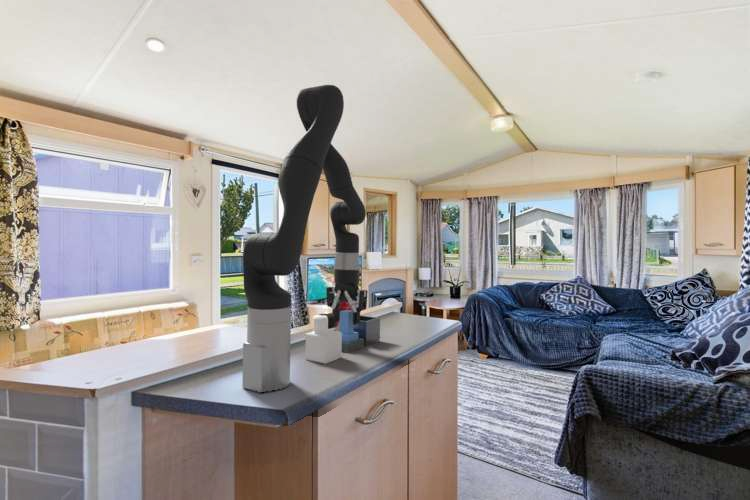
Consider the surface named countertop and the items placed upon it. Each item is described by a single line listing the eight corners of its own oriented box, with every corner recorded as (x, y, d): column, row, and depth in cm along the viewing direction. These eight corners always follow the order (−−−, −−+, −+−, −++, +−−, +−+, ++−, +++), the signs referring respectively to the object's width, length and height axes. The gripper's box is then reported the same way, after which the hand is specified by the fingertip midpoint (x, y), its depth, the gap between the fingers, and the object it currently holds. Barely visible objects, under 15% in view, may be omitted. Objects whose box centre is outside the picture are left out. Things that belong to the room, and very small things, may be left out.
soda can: (329, 329, 141) (329, 296, 141) (347, 328, 144) (347, 296, 144) (335, 333, 135) (336, 299, 134) (354, 332, 138) (355, 298, 137)
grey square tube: (365, 346, 119) (366, 321, 118) (345, 342, 123) (345, 318, 123) (379, 341, 125) (380, 318, 125) (359, 337, 130) (359, 315, 129)
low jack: (348, 352, 111) (348, 344, 111) (326, 348, 115) (326, 340, 115) (364, 346, 118) (364, 338, 118) (343, 342, 122) (343, 335, 122)
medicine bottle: (321, 353, 110) (322, 311, 110) (341, 357, 106) (342, 314, 106) (304, 359, 104) (305, 315, 104) (325, 364, 100) (326, 318, 100)
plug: (347, 347, 113) (348, 313, 113) (334, 344, 116) (334, 311, 116) (358, 343, 117) (358, 311, 117) (344, 341, 120) (345, 309, 120)
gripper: (320, 267, 117) (319, 321, 117) (359, 269, 109) (358, 328, 109) (335, 266, 123) (335, 318, 123) (373, 268, 115) (372, 323, 116)
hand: (345, 322), depth 116 cm, fingers open, 6 cm apart
